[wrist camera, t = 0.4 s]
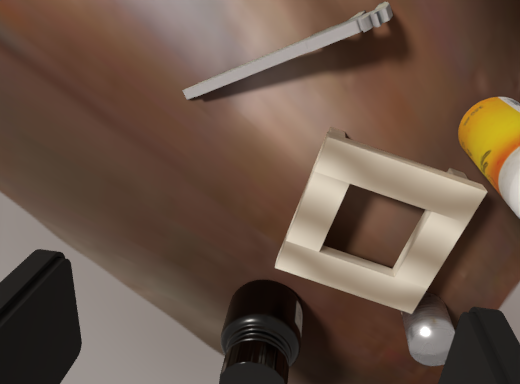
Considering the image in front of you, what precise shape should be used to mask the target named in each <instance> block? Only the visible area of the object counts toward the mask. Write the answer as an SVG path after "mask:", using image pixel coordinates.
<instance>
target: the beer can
mask: <svg viewBox="0 0 520 384" xmlns="http://www.w3.org/2000/svg"><path fill="white" fill-rule="evenodd" d="M458 137H459V142H460V144H461V146H462V148H463V149H464V151H465V152H466V153H467V154H468V156H469V157H470V158H471V159H472V161H473V162H474V163H475V164H476V166H477V167H478V168H479V169H480V171H481V172H482V173H483V174H484V175H485V177H486V178H487V179H488V180H489V182H490V183H491V184H492V185H493V187H494V188H495V189H496V190H497V192H498V193H499V194H500V195H501V197H502V198H503V199H504V200H505V202H506V203H507V204H508V205H509V207H510V208H511V209H512V210H513V212H514V213H515V214H516V215H517V216H518V217H519V218H520V103H519V102H517V101H515V100H513V99H510V98H507V97H492V98H488V99H485V100H483V101H481V102H479V103H477V104H476V105H474V106H473V107H472V108H470V109H469V110H468V111H467V113H466V114H465V115H464V117H463V118H462V121H461V123H460V126H459V131H458Z"/></svg>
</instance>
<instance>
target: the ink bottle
mask: <svg viewBox="0 0 520 384" xmlns="http://www.w3.org/2000/svg"><path fill="white" fill-rule="evenodd" d="M302 318H303V309H302V305H301V302H300V300H299V299H298V297H297V296H296V295H295V294H294V293H293V292H292V291H291V290H290V289H289V288H287V287H286V286H284V285H282V284H280V283H277V282H274V281H270V280H255V281H252V282H249V283H247V284H245V285H243V286H242V287H240V288H239V289H238V290H237V291H236V292H235V294H234V295H233V297H232V299H231V302H230V306H229V309H228V312H227V316H226V319H225V323H224V326H223V330H222V334H221V347H222V350H223V353H224V355H225V358H224V362H223V366H222V370H221V374H220V381H219V384H287V383H288V372H289V368H290V367H291V366H292V365H293V364H294V362H295V361H296V359H297V358H298V355H299V352H300V347H301V333H302Z"/></svg>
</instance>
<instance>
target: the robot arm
mask: <svg viewBox="0 0 520 384" xmlns="http://www.w3.org/2000/svg"><path fill="white" fill-rule="evenodd" d="M81 344H82V342H81V334H80V326H79V319H78V312H77V305H76V297H75V290H74V283H73V275H72V269H71V263H70V261H69V260H68V259H65V256H64V254H63V253H61V252H56V251H49V250H41V249H39V250H36V251H34V252H33V253H32V254H31V255H30V256H29V257H27V259H25V260H24V261H23V262H22V263H21V264H20V265H19V266H18V267H17V268H16V269H14V270H13V271H12V272H11V273H10V274H9V275H8V276H7V277H6V278H5V279H4V280H3V281H1V282H0V384H60V383H61V381H62V380H63V378H64V377H65V375H66V374H67V372H68V371H69V369H70V368H71V366H72V365H73V363H74V361H75V360H76V359H77V357H78V355H79V353H80V350H81ZM438 384H520V344H519V342H518V340H517V338H516V336H515V335H514V333H513V331H512V329H511V327H510V325H509V323H508V322H507V320H506V318H505V316H504V314H503V313H502V312H501V311H499V310H494V309H486V308H479V307H472V308H471V309H470V311H469V313H467V312H463V313H462V314H461V316H460V319H459V322H458V325H457V328H456V331H455V334H454V337H453V340H452V343H451V346H450V349H449V352H448V355H447V358H446V361H445V364H444V367H443V370H442V373H441V377H440V380H439V383H438Z"/></svg>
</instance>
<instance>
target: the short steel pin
mask: <svg viewBox="0 0 520 384" xmlns="http://www.w3.org/2000/svg"><path fill="white" fill-rule="evenodd" d="M401 315H402V319H403V323H404V328H405V332H406V337H407V341H408V345H409V350H410V353H411V355H412V357H413V358H414V359H415V360H416V361H418V362H420V363H422V364H425V365H429V366H438V365H443V364H445V361H446V358H447V355H448V352H449V349H450V346H451V343H452V340H453V337H454V334H455V330H454V328H453V325H452V322H451V319H450V317H449V314H448V311H447V309H446V306H445V303H444V301H443V300H442V299H441V298H440V297H438V296H437V295H435V294H432V293H425V294H424V295H423V297H422V298H421V300H420V302H419V303H418V305H417V307H416V308H415V310H414V311H413V313H412V314H410V313H407V312H404V311H402V310H401Z"/></svg>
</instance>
